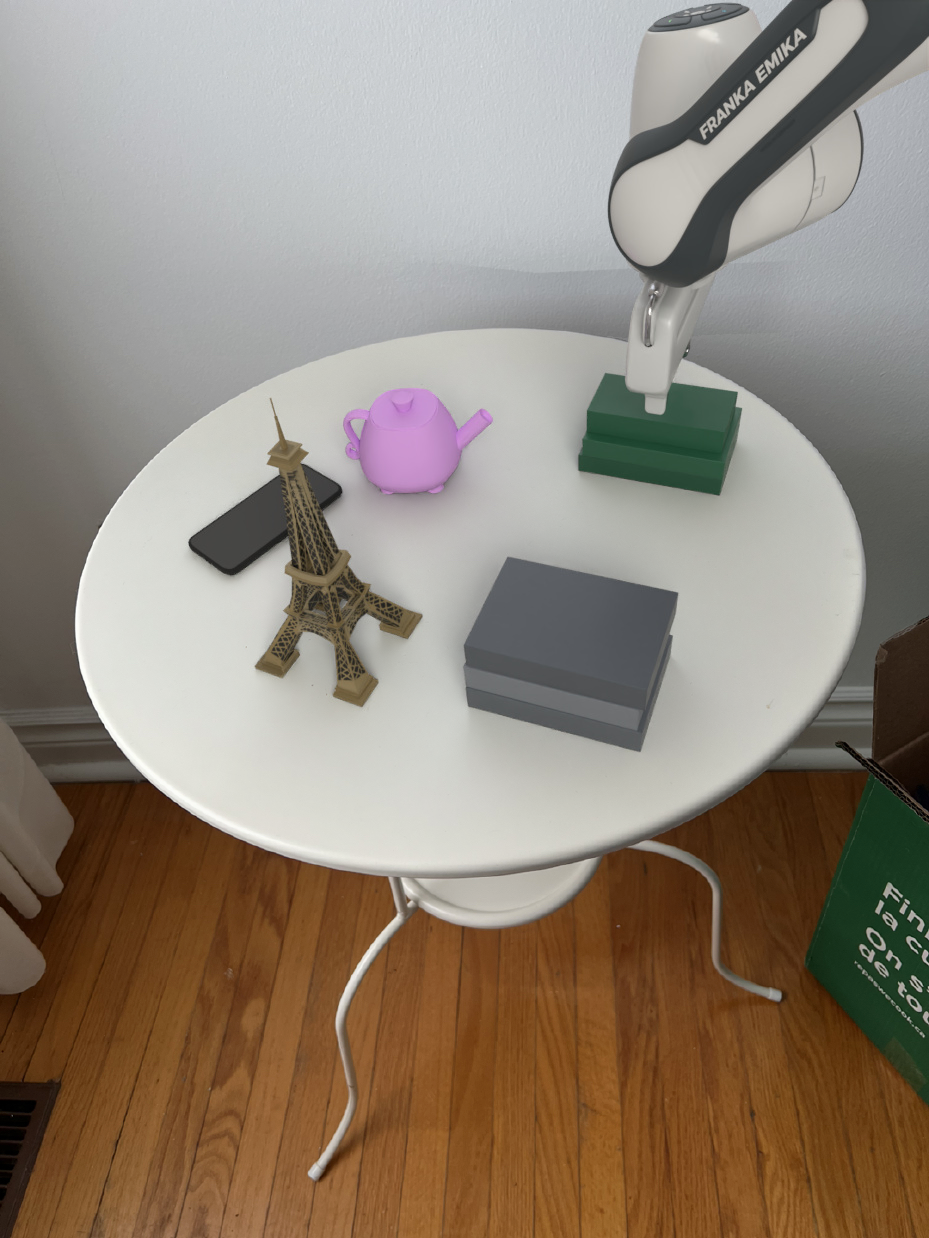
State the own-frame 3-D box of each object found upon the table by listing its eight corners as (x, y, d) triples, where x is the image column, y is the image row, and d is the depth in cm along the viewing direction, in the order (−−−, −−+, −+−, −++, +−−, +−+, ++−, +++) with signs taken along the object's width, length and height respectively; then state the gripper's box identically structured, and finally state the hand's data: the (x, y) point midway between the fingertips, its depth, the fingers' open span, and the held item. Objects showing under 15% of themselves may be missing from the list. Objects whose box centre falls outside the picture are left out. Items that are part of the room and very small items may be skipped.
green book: (734, 413, 89) (738, 391, 87) (721, 454, 85) (724, 432, 84) (604, 394, 93) (605, 372, 91) (586, 432, 89) (586, 410, 87)
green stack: (737, 439, 93) (742, 406, 90) (719, 495, 88) (725, 462, 85) (602, 418, 97) (603, 386, 94) (577, 470, 92) (578, 438, 89)
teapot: (357, 443, 98) (341, 367, 91) (498, 439, 96) (493, 361, 89) (343, 508, 91) (324, 431, 84) (494, 505, 89) (488, 426, 82)
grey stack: (670, 654, 75) (678, 591, 70) (640, 752, 69) (646, 692, 64) (509, 617, 80) (505, 555, 74) (467, 706, 74) (459, 646, 68)
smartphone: (182, 541, 88) (298, 459, 95) (185, 548, 89) (300, 466, 96) (228, 574, 85) (346, 487, 91) (231, 581, 85) (348, 494, 92)
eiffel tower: (422, 616, 80) (378, 369, 62) (362, 707, 74) (293, 463, 56) (321, 584, 84) (250, 342, 65) (255, 668, 78) (157, 427, 59)
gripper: (691, 303, 68) (677, 452, 78) (741, 185, 81) (723, 328, 91) (608, 294, 70) (604, 441, 80) (669, 181, 82) (660, 321, 93)
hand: (668, 380), depth 86 cm, fingers open, 8 cm apart
